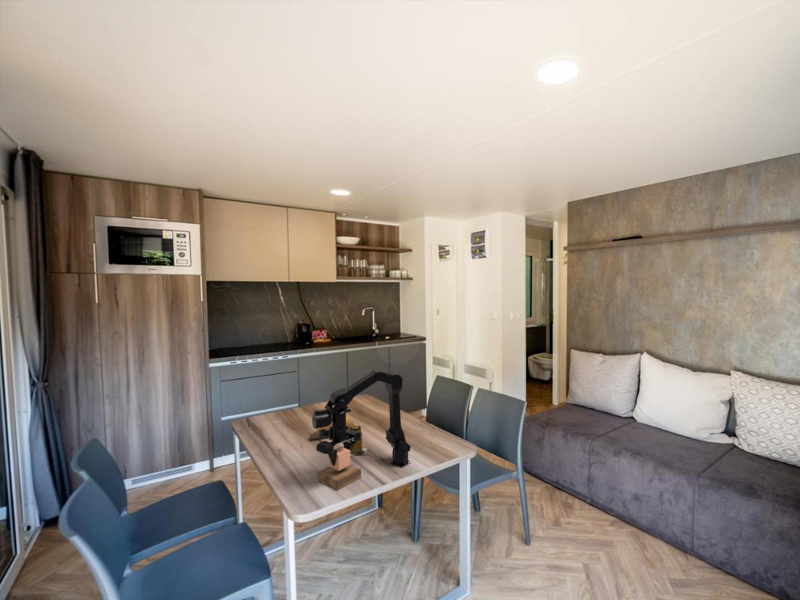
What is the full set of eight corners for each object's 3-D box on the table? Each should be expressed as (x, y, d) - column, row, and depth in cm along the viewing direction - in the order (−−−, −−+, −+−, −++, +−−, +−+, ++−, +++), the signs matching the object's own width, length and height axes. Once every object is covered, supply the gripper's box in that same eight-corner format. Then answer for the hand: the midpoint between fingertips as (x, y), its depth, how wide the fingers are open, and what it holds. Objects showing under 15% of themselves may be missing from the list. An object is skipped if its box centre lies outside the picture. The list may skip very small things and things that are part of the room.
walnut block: (361, 479, 148) (361, 469, 148) (338, 491, 139) (338, 481, 139) (341, 470, 156) (341, 460, 156) (318, 481, 147) (318, 471, 147)
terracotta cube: (350, 465, 148) (350, 450, 148) (338, 470, 143) (338, 455, 143) (340, 460, 152) (340, 446, 151) (328, 466, 147) (328, 451, 147)
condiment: (348, 449, 176) (348, 424, 176) (366, 448, 177) (366, 423, 176) (348, 456, 169) (347, 430, 168) (366, 455, 169) (366, 429, 169)
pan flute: (310, 442, 185) (358, 435, 195) (310, 436, 185) (358, 428, 195) (303, 426, 208) (346, 420, 218) (303, 420, 208) (346, 414, 218)
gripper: (343, 413, 159) (343, 449, 160) (307, 426, 145) (308, 465, 145) (361, 419, 152) (361, 456, 152) (325, 432, 138) (326, 473, 138)
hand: (339, 462), depth 147 cm, fingers closed on terracotta cube, 6 cm apart
